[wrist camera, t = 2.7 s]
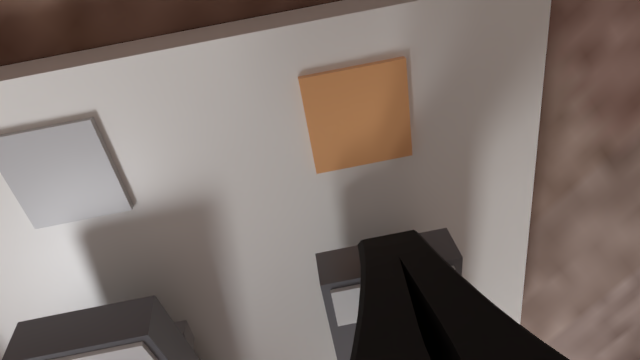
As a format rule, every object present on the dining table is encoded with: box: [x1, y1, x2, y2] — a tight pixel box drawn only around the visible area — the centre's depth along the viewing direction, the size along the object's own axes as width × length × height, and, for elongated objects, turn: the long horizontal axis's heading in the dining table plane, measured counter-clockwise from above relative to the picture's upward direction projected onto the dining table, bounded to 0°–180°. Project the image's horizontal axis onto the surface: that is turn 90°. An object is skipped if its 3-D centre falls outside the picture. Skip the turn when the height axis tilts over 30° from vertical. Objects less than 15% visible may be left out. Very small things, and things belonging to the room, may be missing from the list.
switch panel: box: [0, 0, 551, 360], centre depth 13 cm, size 13×23×2 cm, turn 99°
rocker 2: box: [315, 228, 463, 360], centre depth 12 cm, size 6×3×1 cm, turn 10°
